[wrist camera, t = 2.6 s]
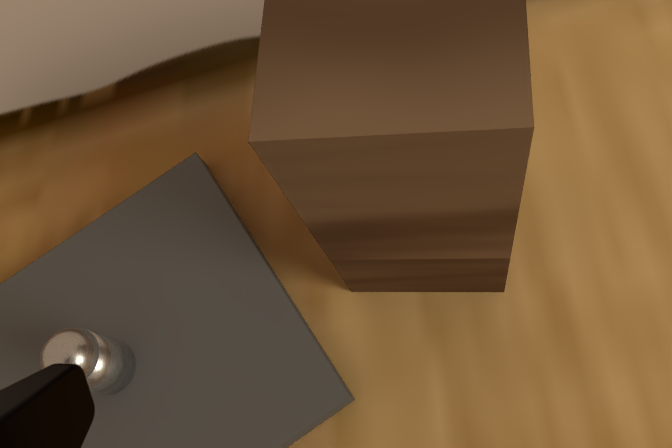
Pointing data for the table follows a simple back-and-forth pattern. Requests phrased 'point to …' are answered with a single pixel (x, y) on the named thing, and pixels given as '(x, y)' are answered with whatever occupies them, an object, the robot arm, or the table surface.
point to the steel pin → (92, 358)
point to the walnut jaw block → (399, 134)
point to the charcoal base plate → (177, 323)
